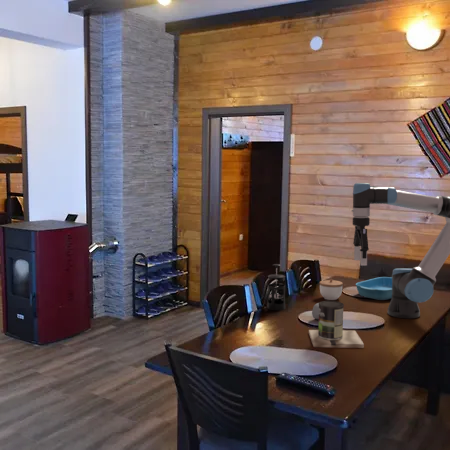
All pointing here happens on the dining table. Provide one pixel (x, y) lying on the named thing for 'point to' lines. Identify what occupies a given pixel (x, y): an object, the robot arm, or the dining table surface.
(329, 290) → the lidded bowl
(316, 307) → the ceramic mug
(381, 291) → the casserole dish
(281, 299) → the french press
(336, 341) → the plywood board
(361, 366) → the dining table surface
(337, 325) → the coffee can
